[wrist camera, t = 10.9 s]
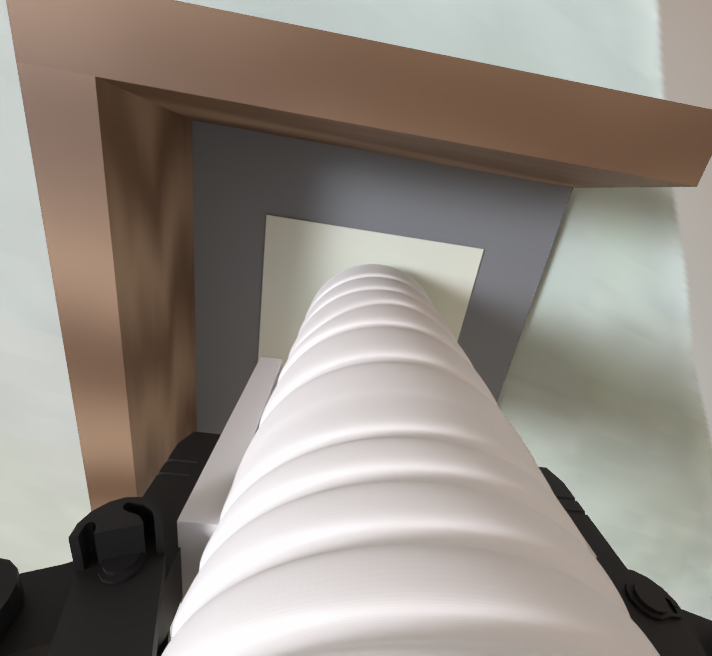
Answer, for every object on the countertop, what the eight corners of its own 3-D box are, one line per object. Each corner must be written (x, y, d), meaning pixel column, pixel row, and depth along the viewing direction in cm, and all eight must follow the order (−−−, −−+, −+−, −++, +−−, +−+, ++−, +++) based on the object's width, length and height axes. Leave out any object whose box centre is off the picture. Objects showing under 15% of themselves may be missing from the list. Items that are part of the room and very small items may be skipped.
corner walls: (149, 62, 15) (-1, -36, 9) (581, 143, 17) (731, 113, 10) (168, 434, 22) (95, 535, 16) (468, 466, 24) (513, 569, 17)
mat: (197, 122, 16) (191, 119, 15) (565, 187, 17) (574, 187, 17) (200, 438, 22) (196, 445, 22) (468, 466, 24) (471, 474, 23)
